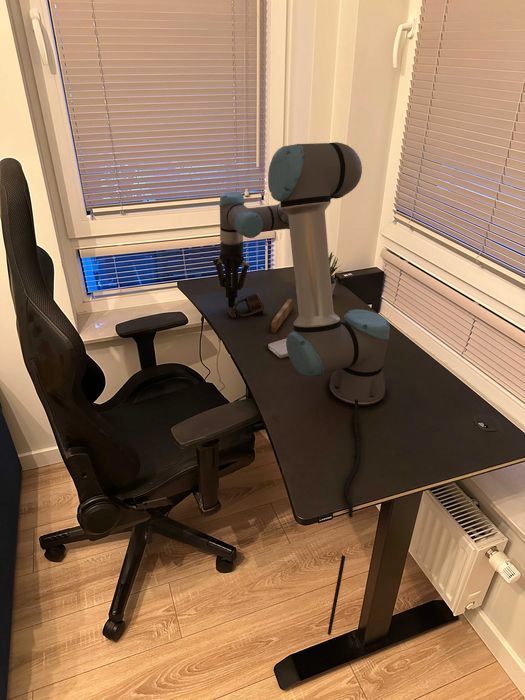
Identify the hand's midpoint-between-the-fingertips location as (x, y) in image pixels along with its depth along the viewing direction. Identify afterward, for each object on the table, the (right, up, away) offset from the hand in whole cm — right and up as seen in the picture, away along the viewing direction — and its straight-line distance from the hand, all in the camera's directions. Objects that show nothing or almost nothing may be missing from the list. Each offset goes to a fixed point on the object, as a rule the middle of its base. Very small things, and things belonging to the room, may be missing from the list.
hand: (231, 305), depth 176 cm
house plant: (+34, +5, +14) cm, 37 cm away
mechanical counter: (+5, -3, -1) cm, 6 cm away
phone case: (+21, -15, -19) cm, 32 cm away
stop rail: (+17, -5, -4) cm, 19 cm away
